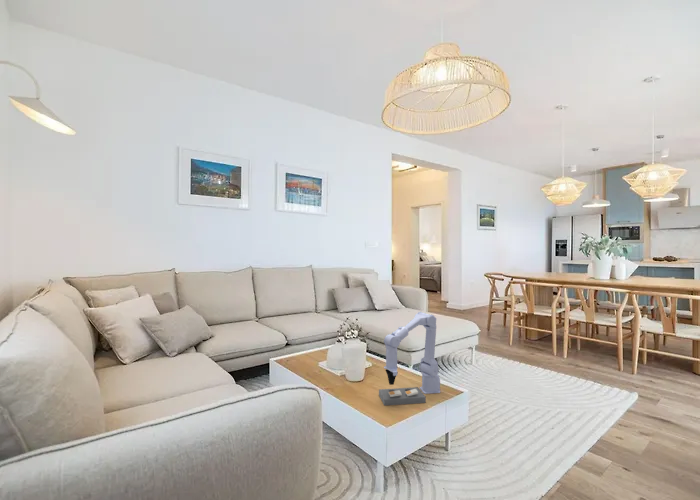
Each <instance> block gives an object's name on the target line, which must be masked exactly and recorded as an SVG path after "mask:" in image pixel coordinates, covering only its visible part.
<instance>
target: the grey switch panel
mask: <svg viewBox="0 0 700 500" xmlns="http://www.w3.org/2000/svg"><path fill="white" fill-rule="evenodd" d="M413 389H416V390H417V391H418V394H415V395H411V396H408V397H407V395H406V394H405V391H409V390H413ZM397 390H400V392H401V393H402V395H399V396H393V397H390V395H389V393H388V392H391V391H397ZM378 396H379V398H380V400H381V402H382V404H383V406H398V405H414V404H425V403H426V401H427V400H426V397H427V396H426V395H425V394H424V393H423V392H422V390H421V389H420V388H419V387H418V386H415V387H398V388H381V389H378Z"/></svg>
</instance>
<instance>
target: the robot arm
mask: <svg viewBox="0 0 700 500" xmlns="http://www.w3.org/2000/svg"><path fill="white" fill-rule="evenodd" d="M418 326H423V327H424V329H425V339H424V341H425V342H424V354H423V355H424V356H423V357H421V358H420V364H419V365H418V369H419V370H420V372H421V380H422V381H421V386H419V387H418V388H419V389H420V391H421V392H422V393H423V394H424V395H426V394H427V395H428V394H441V378H440V375H439V369H440V368H439V366H438V365H439V363H438V361H437V360H436V359H435V351H436V350H435V349H436V339H437V338H436V337H437V318H436V316H435V315H434V314H430V313H426V312H422V311H418V312H417V313H415V315H414V317H413V318H412V319H411V320H410V321H409V322H408V323H407V324H405V326H398V328H397V329H396V330H394V331H392V333H390V334H389V333H388V334H386V336H385V337H384V340H383V344H384V345H385V366H384V365H383V368H384V370H385V372H386V375H387V379H388V384H389V385H392V386H393V385H394V384H395V381H396V377H397V376H398V372H399V371H398V347H399V346H400V344H401V342H402V341H403V340H404V339H406V337H407V336H409V332H410V331H412V330H414V329H415V328H417V327H418Z"/></svg>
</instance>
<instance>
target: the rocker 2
mask: <svg viewBox="0 0 700 500" xmlns="http://www.w3.org/2000/svg"><path fill="white" fill-rule="evenodd" d="M405 394H406V395H407V397H408V396H411V395H415V394H418V391H417V390H416V389H413V390H409V391H405Z"/></svg>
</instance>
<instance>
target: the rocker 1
mask: <svg viewBox="0 0 700 500" xmlns="http://www.w3.org/2000/svg"><path fill="white" fill-rule="evenodd" d="M388 393H389V395H390V397H393V396H399V395H402V393H401V392H400V390H397V391H391V392H388Z"/></svg>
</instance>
